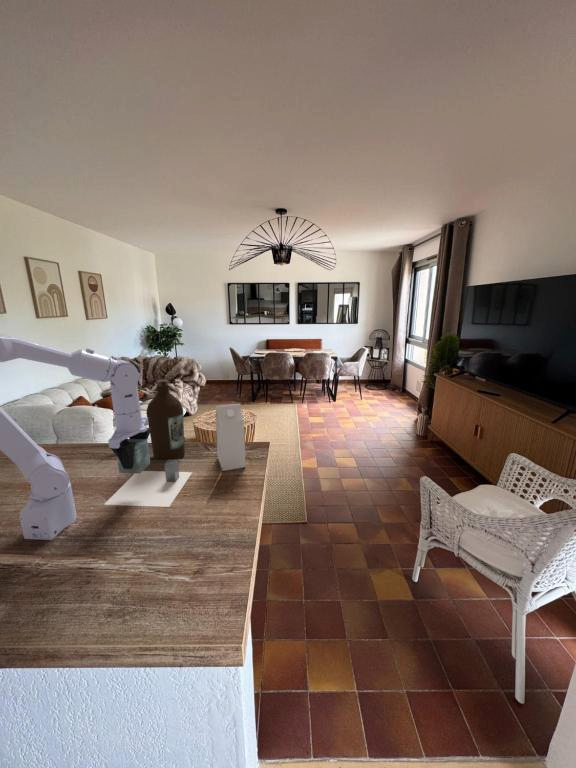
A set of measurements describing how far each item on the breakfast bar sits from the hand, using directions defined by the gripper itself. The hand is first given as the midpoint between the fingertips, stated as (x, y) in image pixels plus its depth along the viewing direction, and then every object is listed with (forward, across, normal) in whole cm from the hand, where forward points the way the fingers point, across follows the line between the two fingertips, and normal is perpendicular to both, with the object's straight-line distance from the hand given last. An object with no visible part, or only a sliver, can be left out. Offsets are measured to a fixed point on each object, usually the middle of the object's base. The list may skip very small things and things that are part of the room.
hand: (134, 462), depth 81 cm
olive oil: (+10, +22, +1) cm, 24 cm away
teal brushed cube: (+2, 0, 0) cm, 2 cm away
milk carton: (+10, +18, -20) cm, 29 cm away
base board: (+10, +2, -2) cm, 10 cm away
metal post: (+10, +6, -6) cm, 13 cm away
